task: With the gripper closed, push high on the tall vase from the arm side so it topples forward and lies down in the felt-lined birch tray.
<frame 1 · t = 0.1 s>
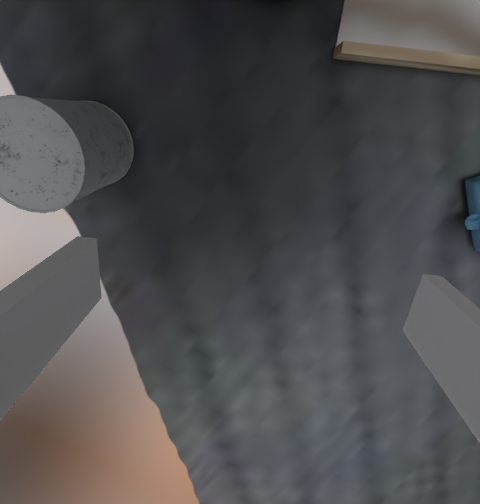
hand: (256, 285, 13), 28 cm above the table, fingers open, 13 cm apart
grey cylinder: (94, 144, 39), on the table
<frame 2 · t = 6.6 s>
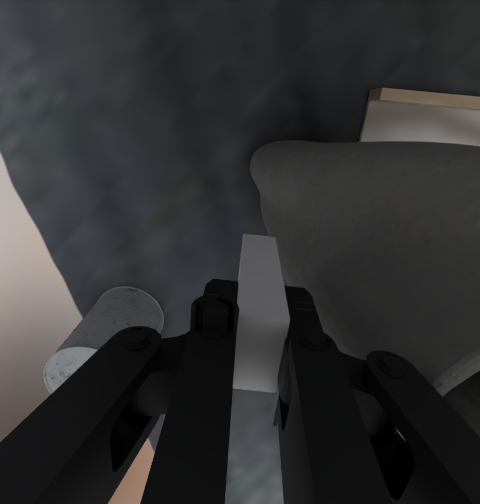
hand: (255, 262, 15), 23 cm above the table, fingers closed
vase: (289, 178, 36), point 1 cm above the table
grey cylinder: (130, 315, 46), on the table
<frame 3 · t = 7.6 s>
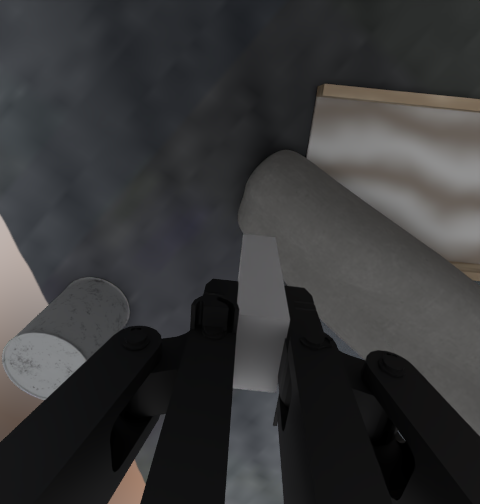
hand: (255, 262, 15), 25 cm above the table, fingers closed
vase: (259, 177, 35), point 4 cm above the table, touching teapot, tray
tray: (438, 190, 38), on the table
grey cylinder: (97, 305, 47), on the table
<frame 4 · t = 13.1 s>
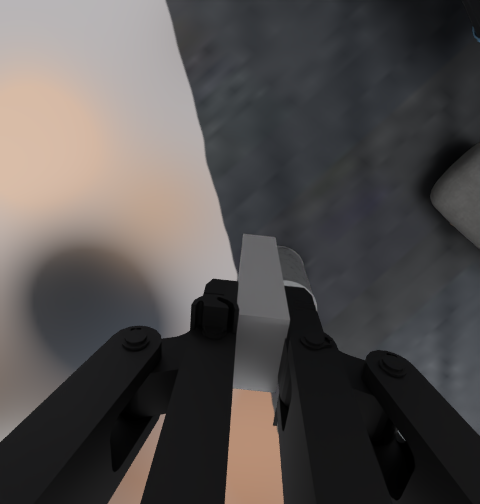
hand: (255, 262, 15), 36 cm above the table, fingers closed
vase: (454, 162, 44), point 4 cm above the table, touching tray
grey cylinder: (276, 270, 56), on the table
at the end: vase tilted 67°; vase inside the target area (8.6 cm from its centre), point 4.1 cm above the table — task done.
